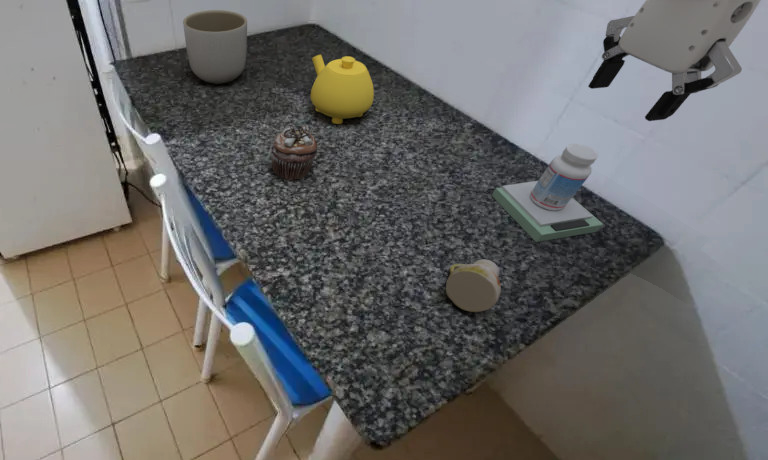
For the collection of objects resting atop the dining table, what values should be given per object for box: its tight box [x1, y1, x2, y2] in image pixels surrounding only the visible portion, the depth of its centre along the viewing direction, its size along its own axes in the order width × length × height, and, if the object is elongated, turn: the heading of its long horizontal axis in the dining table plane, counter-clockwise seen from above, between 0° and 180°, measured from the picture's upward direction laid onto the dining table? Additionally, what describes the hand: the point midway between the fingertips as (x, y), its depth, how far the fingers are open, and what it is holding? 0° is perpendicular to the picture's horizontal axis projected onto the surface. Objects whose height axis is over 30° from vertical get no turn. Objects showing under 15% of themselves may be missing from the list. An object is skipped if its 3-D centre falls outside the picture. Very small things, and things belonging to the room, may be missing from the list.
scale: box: [491, 180, 604, 243], centre depth 75 cm, size 13×13×3 cm
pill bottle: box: [530, 143, 599, 210], centre depth 70 cm, size 6×6×11 cm
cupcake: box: [269, 124, 318, 181], centre depth 81 cm, size 10×10×10 cm
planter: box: [182, 9, 248, 85], centre depth 109 cm, size 17×17×15 cm
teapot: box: [309, 54, 375, 125], centre depth 98 cm, size 20×16×14 cm
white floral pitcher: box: [445, 258, 502, 313], centre depth 60 cm, size 8×10×10 cm
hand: (624, 102), depth 56 cm, fingers open, 9 cm apart
